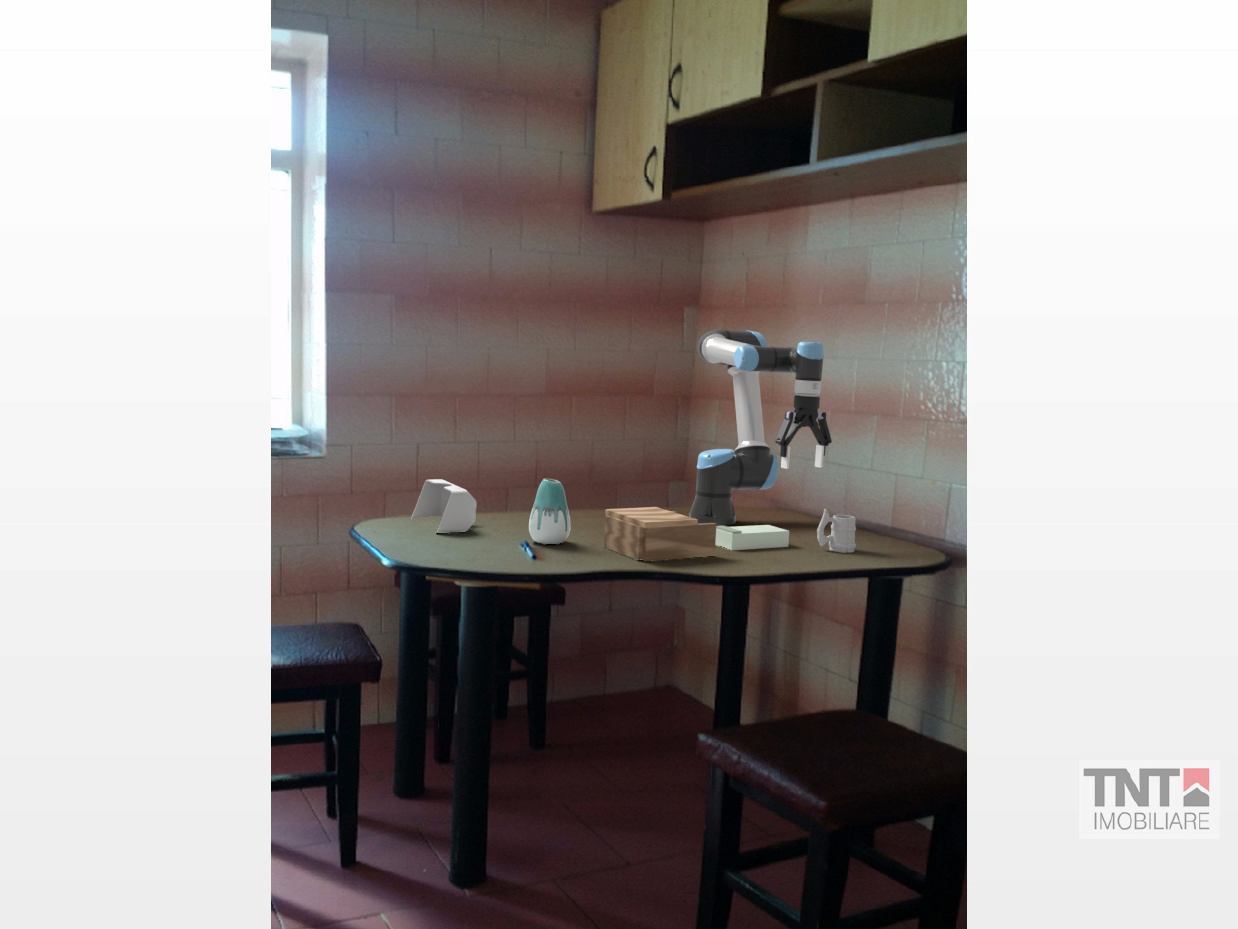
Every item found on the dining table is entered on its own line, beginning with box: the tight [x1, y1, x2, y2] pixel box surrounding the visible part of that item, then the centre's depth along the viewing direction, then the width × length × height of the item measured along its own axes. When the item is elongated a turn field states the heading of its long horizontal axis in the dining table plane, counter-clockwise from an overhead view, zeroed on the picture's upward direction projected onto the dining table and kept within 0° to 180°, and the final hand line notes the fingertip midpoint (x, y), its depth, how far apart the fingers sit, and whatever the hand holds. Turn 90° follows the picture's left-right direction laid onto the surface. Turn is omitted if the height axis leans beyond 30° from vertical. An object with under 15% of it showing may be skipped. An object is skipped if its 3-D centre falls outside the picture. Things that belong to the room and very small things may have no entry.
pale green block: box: [715, 524, 790, 551], centre depth 305 cm, size 10×20×6 cm, turn 119°
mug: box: [816, 508, 857, 554], centre depth 303 cm, size 8×12×12 cm, turn 103°
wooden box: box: [603, 506, 718, 562], centre depth 289 cm, size 21×24×10 cm
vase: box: [528, 478, 571, 545], centre depth 294 cm, size 12×12×18 cm
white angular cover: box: [411, 478, 478, 532], centre depth 313 cm, size 25×16×12 cm, turn 28°
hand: (801, 467), depth 312 cm, fingers open, 12 cm apart
